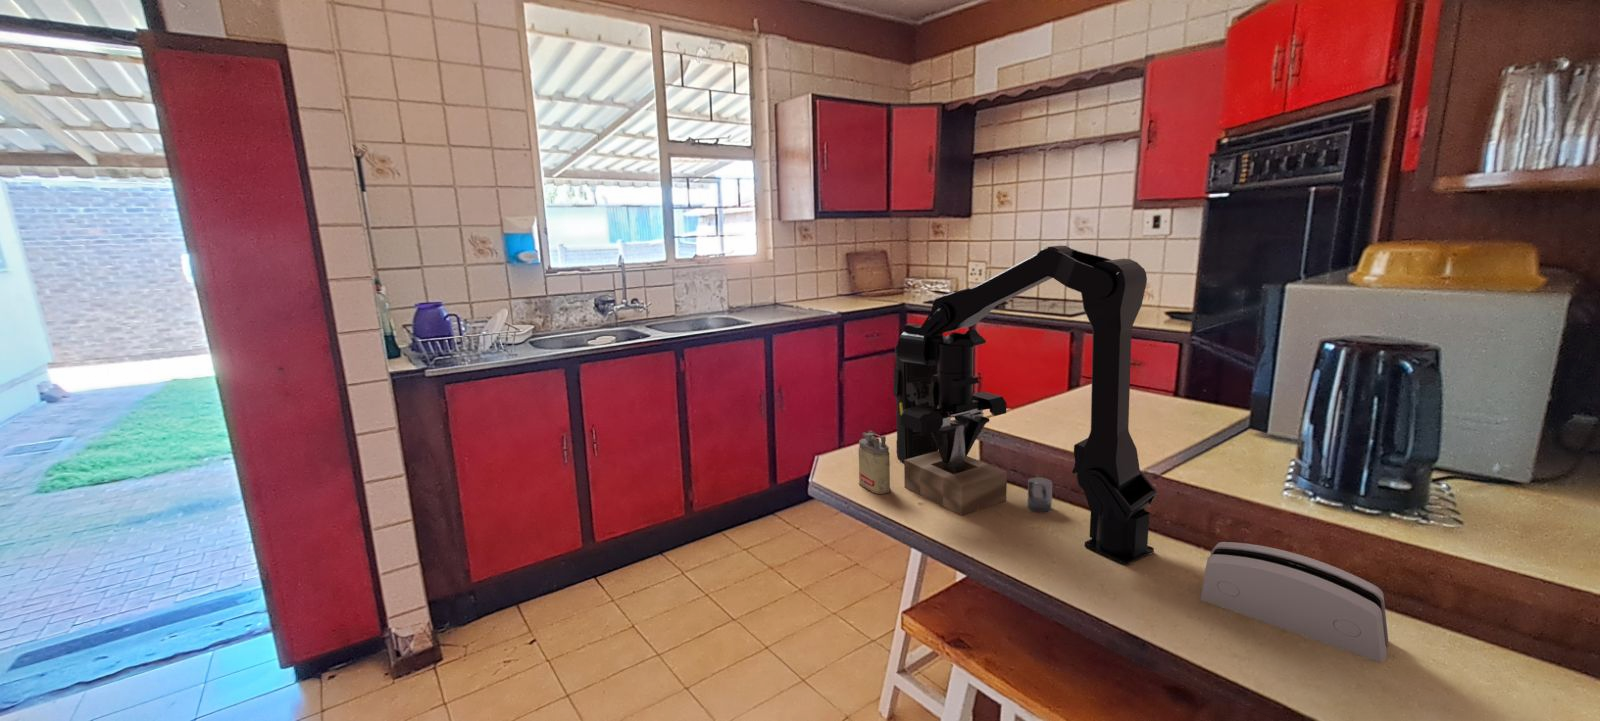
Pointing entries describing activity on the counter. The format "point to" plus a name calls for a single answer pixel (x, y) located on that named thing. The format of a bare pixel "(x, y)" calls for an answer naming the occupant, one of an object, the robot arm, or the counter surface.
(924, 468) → the block
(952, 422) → the tall pin
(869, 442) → the lighter
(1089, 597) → the counter surface
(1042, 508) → the short pin
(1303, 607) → the grey curved block
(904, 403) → the portable radio
